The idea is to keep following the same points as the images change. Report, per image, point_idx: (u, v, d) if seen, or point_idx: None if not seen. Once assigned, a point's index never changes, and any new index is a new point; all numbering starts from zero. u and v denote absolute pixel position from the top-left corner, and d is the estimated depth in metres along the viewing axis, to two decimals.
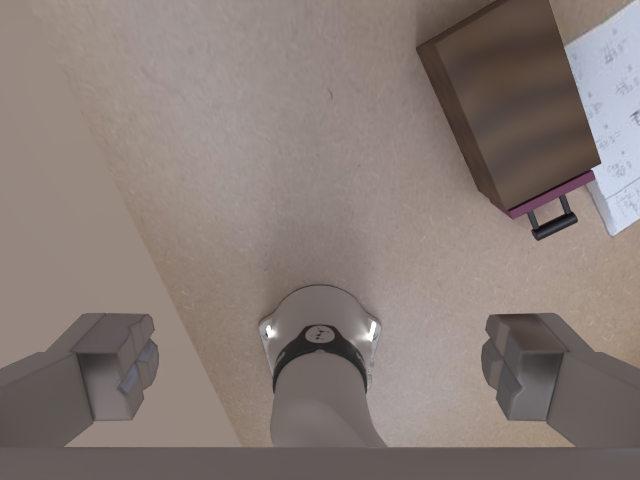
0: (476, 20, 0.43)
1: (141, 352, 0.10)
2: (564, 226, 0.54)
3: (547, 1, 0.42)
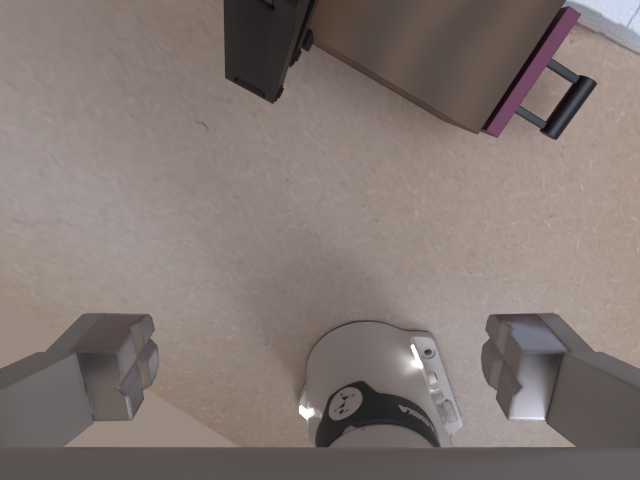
0: None
1: (141, 352, 0.10)
2: (581, 100, 0.36)
3: None
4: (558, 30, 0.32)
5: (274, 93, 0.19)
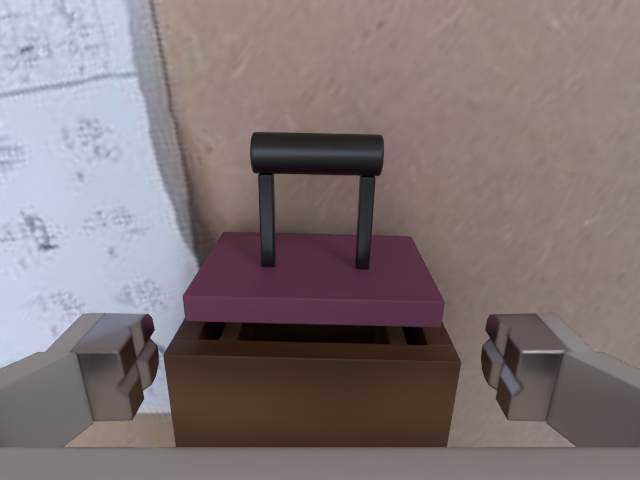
0: None
1: (141, 352, 0.10)
2: (294, 150, 0.17)
3: None
4: (225, 314, 0.17)
5: None
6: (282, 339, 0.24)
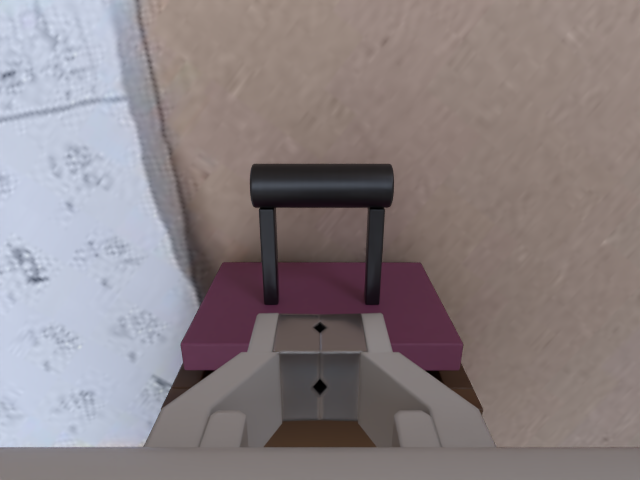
0: None
1: None
2: (297, 184, 0.15)
3: None
4: None
5: None
6: None
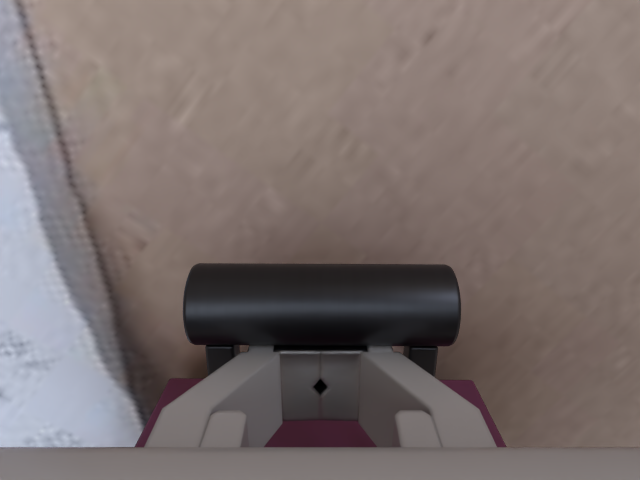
0: None
1: None
2: (275, 311, 0.08)
3: None
4: None
5: None
6: None
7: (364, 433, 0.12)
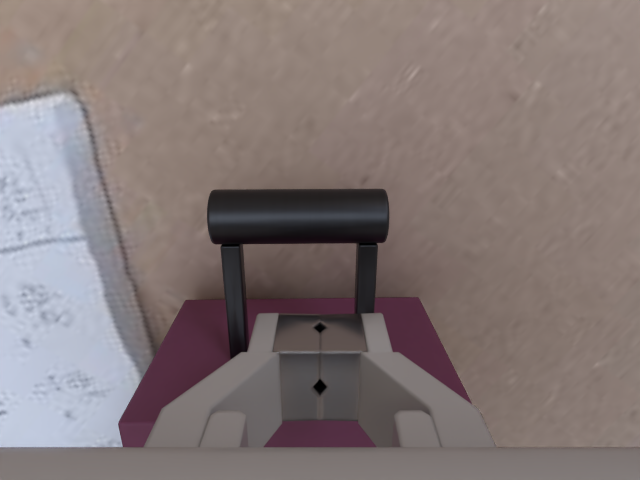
0: None
1: None
2: (268, 216, 0.12)
3: None
4: None
5: None
6: None
7: None
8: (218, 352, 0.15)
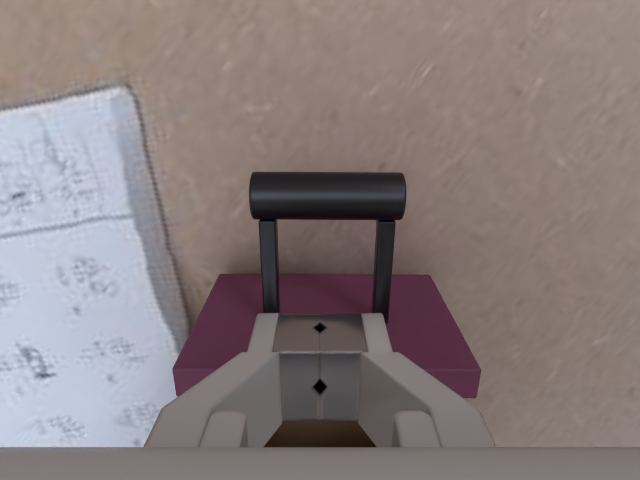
0: None
1: None
2: (301, 194, 0.14)
3: None
4: None
5: None
6: None
7: (353, 298, 0.18)
8: (252, 316, 0.17)
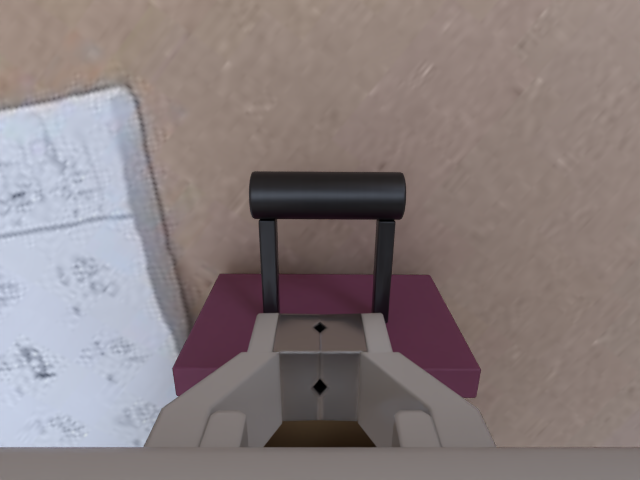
0: None
1: None
2: (301, 194, 0.14)
3: None
4: None
5: None
6: None
7: (353, 298, 0.18)
8: (252, 316, 0.17)
